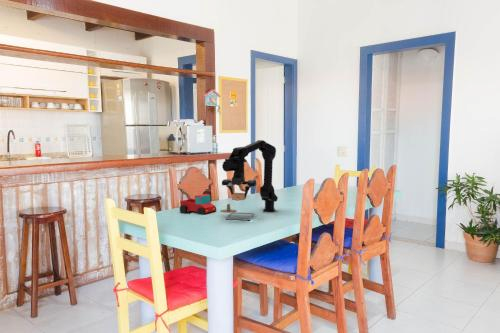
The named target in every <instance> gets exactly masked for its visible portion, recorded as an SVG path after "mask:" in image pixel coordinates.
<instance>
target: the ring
mask: <svg viewBox="0 0 500 333" xmlns="http://www.w3.org/2000/svg"><path fill="white" fill-rule="evenodd" d="M246 199H247V197H246V198H245V192H234V194H232V195H231V201H244V200H246Z"/></svg>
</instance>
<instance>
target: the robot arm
mask: <svg viewBox="0 0 500 333" xmlns="http://www.w3.org/2000/svg"><path fill="white" fill-rule="evenodd" d="M257 150H259V151H260V152H261V156H262V158H263V161H264V163H263V166H264V167H263V168H264V169H263V184H262V186H260V187H259V194H260V198H261V200H262V201H264V209H263V212H270V213H271V212H272V213H273V212H275V211H276V208H275V202H277V201H278V195H277V194H276V193H275V188H274V186H273V161H274V159H275V158H276V154H277V149H276V147H275V146H274V145H272V144H270V143H268V142H266V141H265V140H262V139H258V140H256V141H254V142H251V143H249V144H247V145H245V146H238V147H234V148H233V149H232V152H231V153H230V155H229V157H228V158H225V159H224V161H223V162H222V170H223V171H224V172H233V175H232V178H231V179H229V178H228V179H222V181H221V186H226V188H228V189H229V191H230V194H231V195H230V196H232V194H234V193H235V191H234V190H235V187H234V186H241V185H244V193H245V198H246V199H247V195H248V192H249V190H250V188H252V187H255V186H257V180H255V179H249V180H248V181H247V180H246V177H245V163H246V162H248V160H247V159H246V157H248V156H249V154H250V153H252V152H255V151H257Z"/></svg>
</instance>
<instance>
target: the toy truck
mask: <svg viewBox="0 0 500 333" xmlns="http://www.w3.org/2000/svg"><path fill="white" fill-rule="evenodd" d="M188 211H190V212H196V214H197V215H202V216H204V215H206V214H208V213H211V212H212V213H214V212H215V213H217V207H216V205H215V204H213V203H212V202H211V194H208V193H207V194H206V193H202V194H199V195H194V198H188V199H185V200H180V206H179V212H180V213H181V214H186V213H187V212H188Z"/></svg>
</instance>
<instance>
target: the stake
mask: <svg viewBox="0 0 500 333" xmlns="http://www.w3.org/2000/svg"><path fill="white" fill-rule="evenodd" d="M231 212H238V211H237V209H231V204H230V203H227V204H226V208H225V209H221V210H220V213H224V214H230V213H231Z"/></svg>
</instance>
